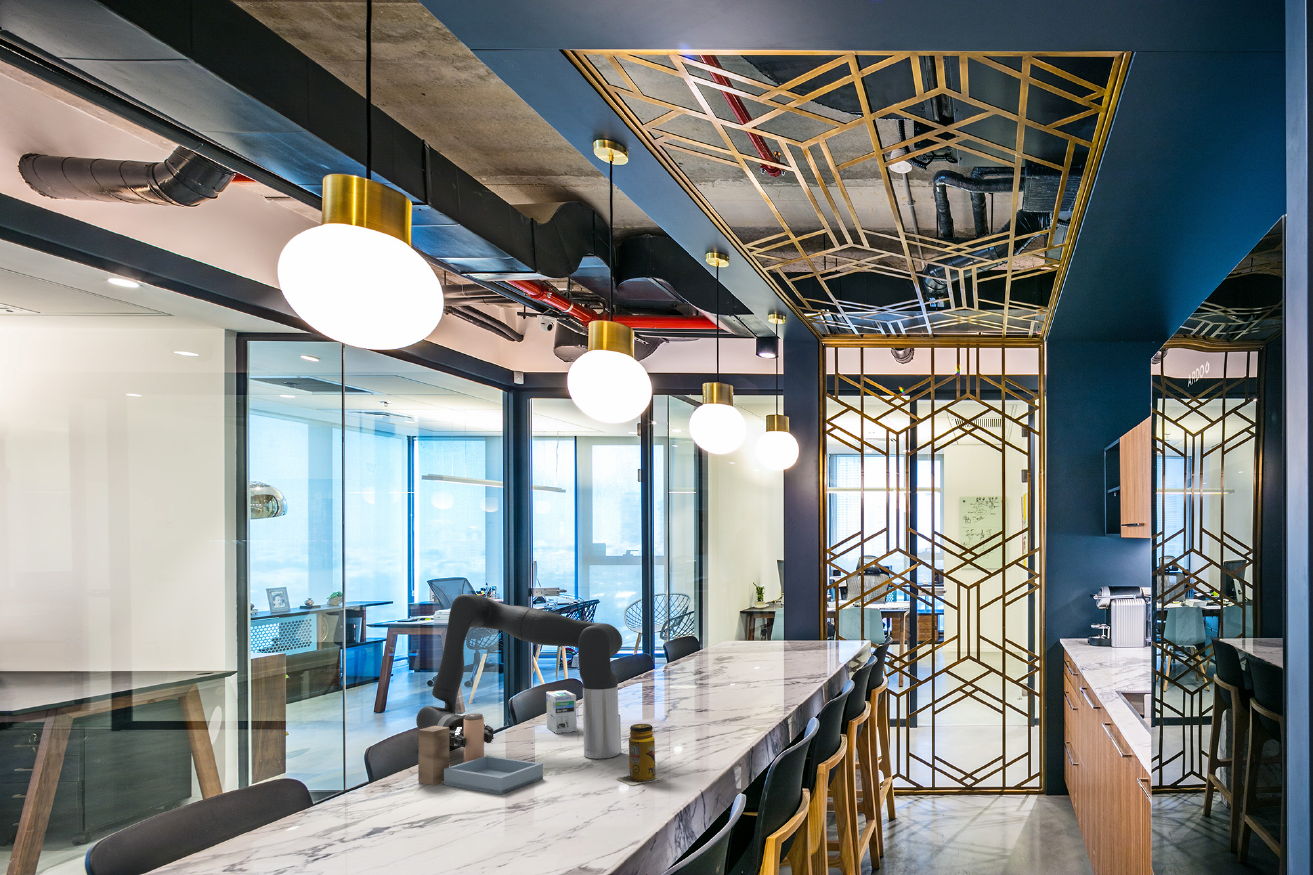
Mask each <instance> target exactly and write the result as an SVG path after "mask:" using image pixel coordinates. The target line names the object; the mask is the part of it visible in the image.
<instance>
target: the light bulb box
mask: <svg viewBox="0 0 1313 875" xmlns="http://www.w3.org/2000/svg"><path fill="white" fill-rule="evenodd" d="M545 694H546V696H545V697H546V728H547V729H548V728H549V729H548V730H550V731H552V733H554V732H555V733H558V734H562V733H561V732H567V733H573V732H572V731H576V732H578V731H577V730H578V727H577V695H576V694H575V693H573V692H571V691H568V690H566V689H564V690H554V691H553V690H552V691H551V690H550V691H546V693H545ZM555 733H554V734H555Z"/></svg>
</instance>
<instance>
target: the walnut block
mask: <svg viewBox="0 0 1313 875" xmlns="http://www.w3.org/2000/svg"><path fill="white" fill-rule="evenodd" d="M417 760H418V769H417V770H418V771H417V772H418V776H417V777H418V779H417V780H418V781H417V782H419V784H424V785H429V784H430V786H435V784H436V785H439V784H441V782H442V783H444V769H445V768H448V767H450V746H449V727H441V726H432V727H428V728H424V729H420V730H419V729H418V759H417Z"/></svg>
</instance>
